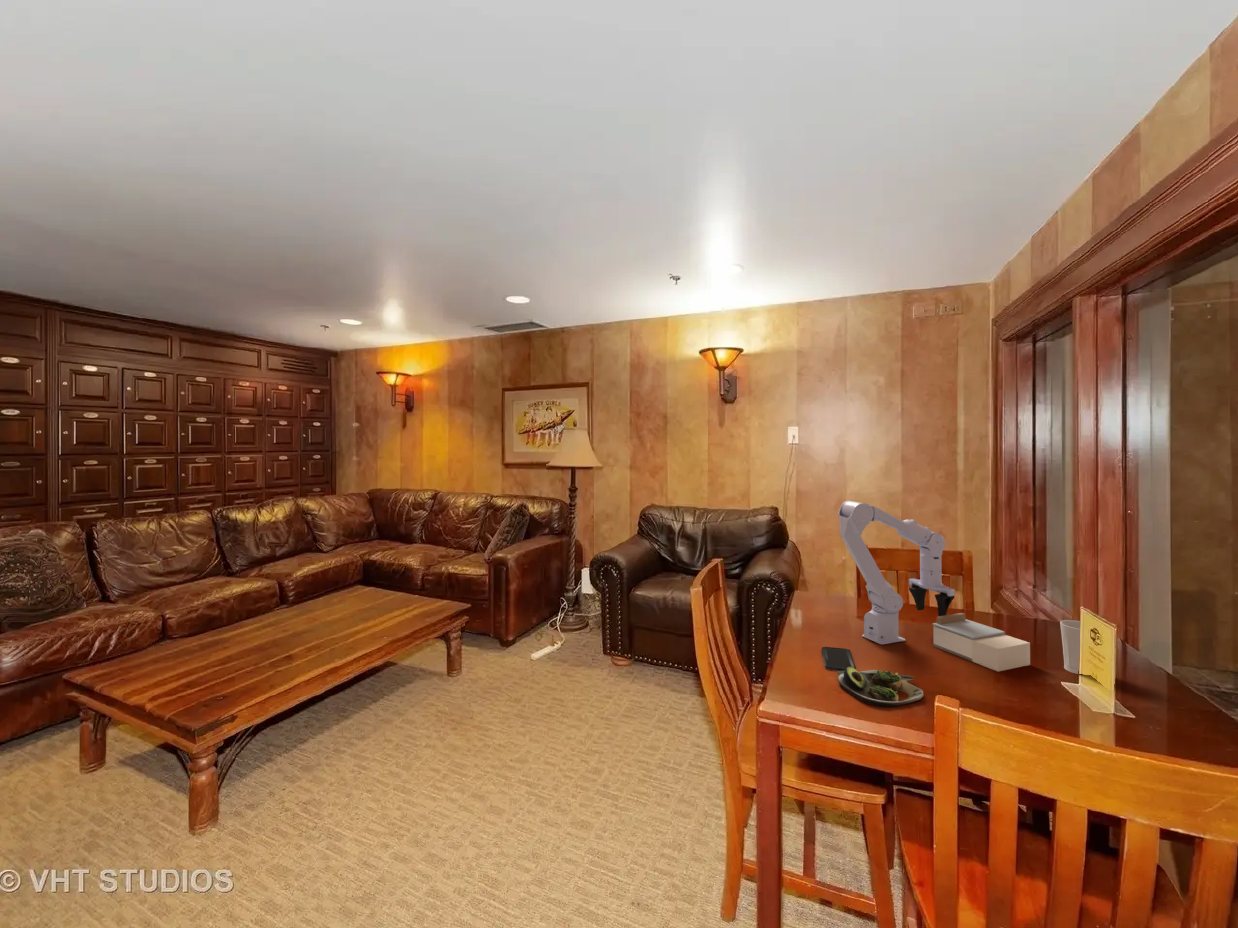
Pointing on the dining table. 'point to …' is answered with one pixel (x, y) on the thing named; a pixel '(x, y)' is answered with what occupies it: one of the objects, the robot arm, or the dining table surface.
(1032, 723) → the dining table surface
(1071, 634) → the cup
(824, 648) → the phone
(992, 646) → the carton
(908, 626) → the dining table surface
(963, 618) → the lid
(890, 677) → the salad plate
